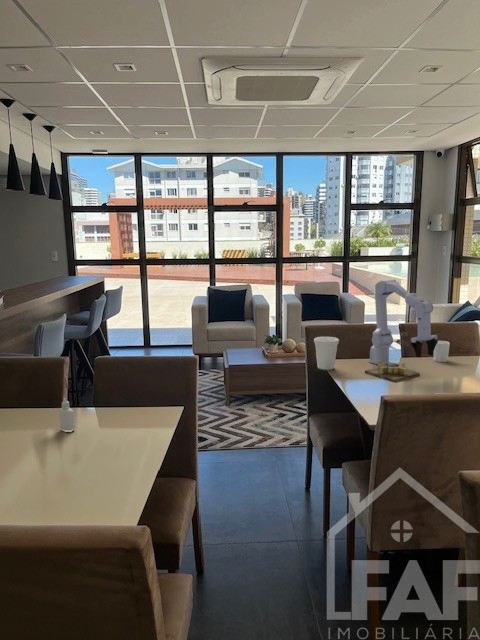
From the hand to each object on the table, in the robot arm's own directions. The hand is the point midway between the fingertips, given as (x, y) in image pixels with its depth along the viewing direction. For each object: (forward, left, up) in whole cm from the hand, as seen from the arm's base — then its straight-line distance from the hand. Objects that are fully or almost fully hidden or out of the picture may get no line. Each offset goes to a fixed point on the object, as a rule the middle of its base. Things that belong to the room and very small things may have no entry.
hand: (424, 356), depth 214 cm
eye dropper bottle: (-31, -155, -11) cm, 159 cm away
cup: (-38, -27, -11) cm, 48 cm away
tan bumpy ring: (-12, -8, -9) cm, 17 cm away
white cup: (-14, +33, -11) cm, 37 cm away
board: (-12, -8, -10) cm, 18 cm away
